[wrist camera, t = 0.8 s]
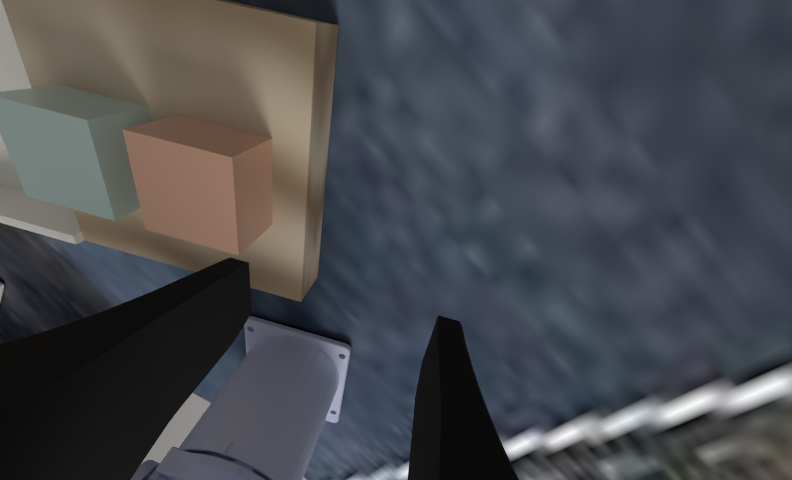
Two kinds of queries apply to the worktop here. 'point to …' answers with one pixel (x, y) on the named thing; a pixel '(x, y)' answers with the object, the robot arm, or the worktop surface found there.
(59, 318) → the worktop surface
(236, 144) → the salmon pink cube
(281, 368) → the robot arm
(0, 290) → the milk carton
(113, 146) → the sage green cube
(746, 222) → the worktop surface
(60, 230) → the tray
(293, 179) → the beech board
